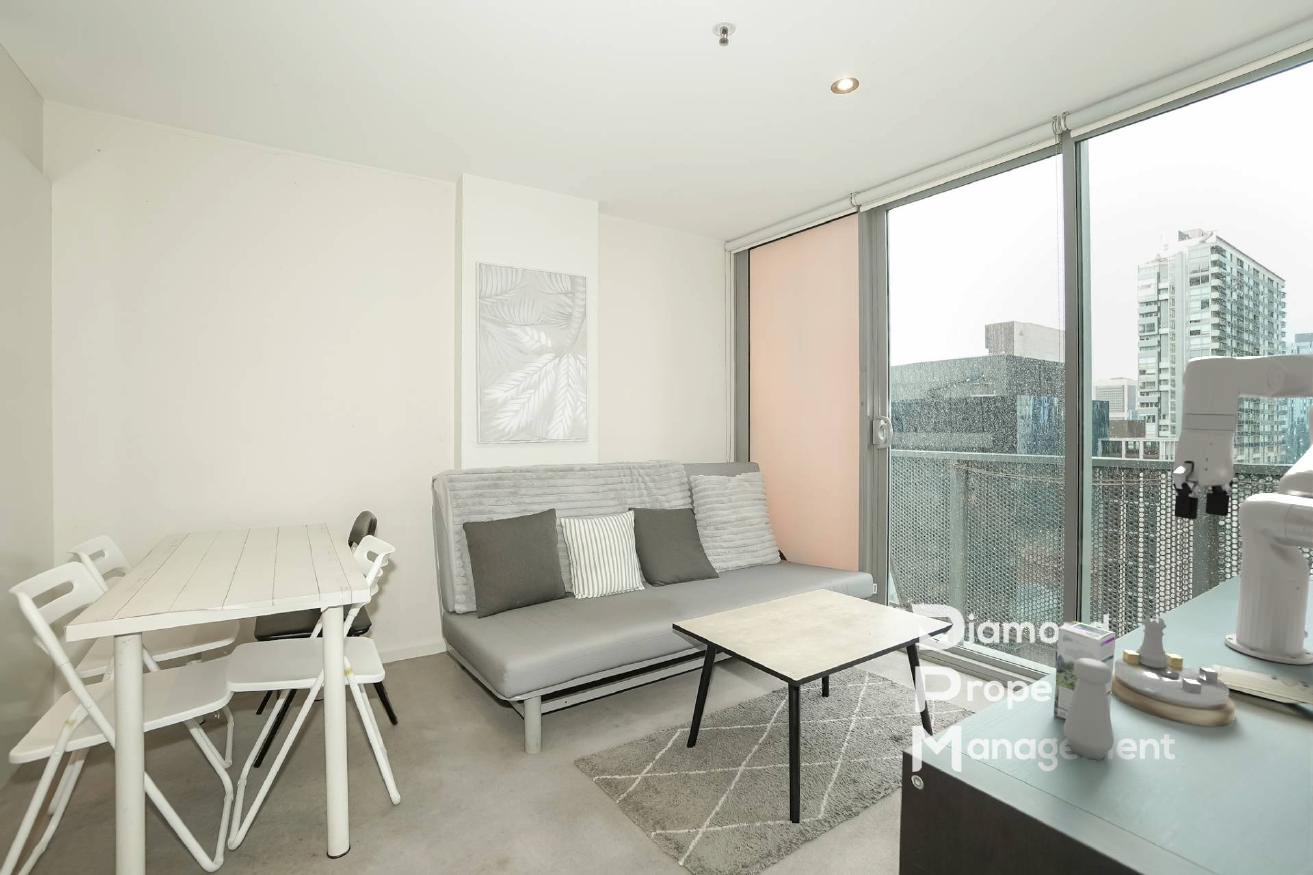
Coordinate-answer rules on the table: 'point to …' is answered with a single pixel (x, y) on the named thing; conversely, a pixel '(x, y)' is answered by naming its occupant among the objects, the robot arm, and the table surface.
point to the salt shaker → (1090, 711)
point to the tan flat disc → (1174, 708)
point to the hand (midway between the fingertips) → (1201, 516)
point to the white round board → (1172, 682)
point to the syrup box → (1075, 645)
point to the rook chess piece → (1153, 644)
